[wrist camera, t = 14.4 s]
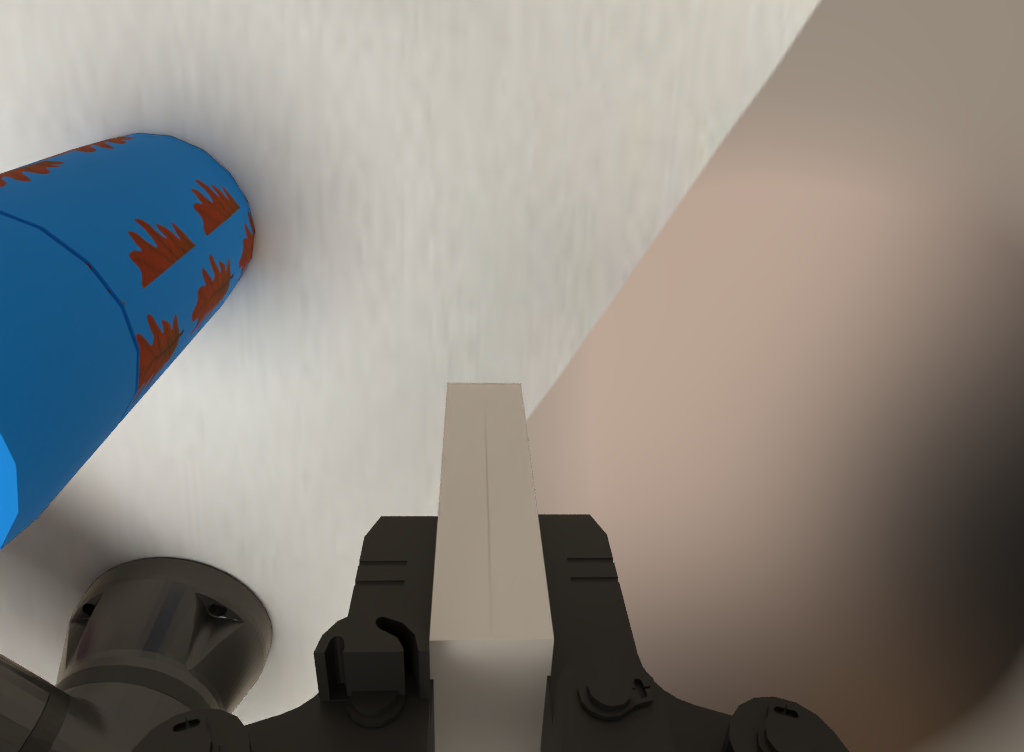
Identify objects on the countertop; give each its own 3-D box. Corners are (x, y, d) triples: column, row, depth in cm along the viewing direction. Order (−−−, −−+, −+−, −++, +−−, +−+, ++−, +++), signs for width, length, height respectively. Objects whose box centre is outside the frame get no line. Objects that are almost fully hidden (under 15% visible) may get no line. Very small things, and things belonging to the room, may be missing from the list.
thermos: (56, 263, 43) (-388, 529, 21) (89, 96, 39) (-425, 207, 17) (231, 330, 46) (1, 629, 23) (280, 180, 41) (55, 373, 19)
